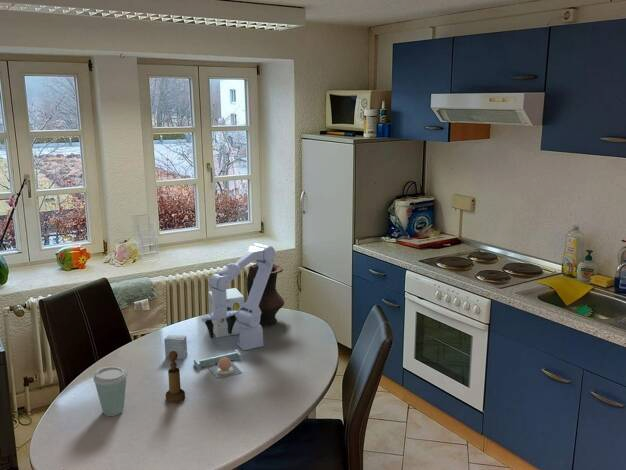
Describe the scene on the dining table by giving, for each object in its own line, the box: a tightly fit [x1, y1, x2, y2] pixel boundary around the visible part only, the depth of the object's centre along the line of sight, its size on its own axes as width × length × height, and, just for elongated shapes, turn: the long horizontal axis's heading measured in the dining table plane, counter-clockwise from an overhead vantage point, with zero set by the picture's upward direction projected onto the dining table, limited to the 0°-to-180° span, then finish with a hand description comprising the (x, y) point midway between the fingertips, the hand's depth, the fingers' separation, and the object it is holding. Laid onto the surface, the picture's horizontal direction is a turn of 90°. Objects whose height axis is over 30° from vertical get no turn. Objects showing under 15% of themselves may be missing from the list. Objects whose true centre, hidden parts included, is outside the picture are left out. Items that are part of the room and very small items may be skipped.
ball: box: [217, 357, 232, 371], centre depth 225 cm, size 5×5×5 cm
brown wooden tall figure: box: [165, 351, 186, 405], centre depth 202 cm, size 7×6×18 cm
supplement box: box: [208, 287, 245, 338], centre depth 262 cm, size 13×13×18 cm
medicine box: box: [163, 334, 188, 360], centre depth 236 cm, size 8×4×9 cm, turn 84°
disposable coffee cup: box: [93, 365, 128, 417], centre depth 194 cm, size 11×11×15 cm
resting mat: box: [208, 361, 243, 380], centre depth 225 cm, size 10×10×1 cm
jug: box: [244, 263, 285, 327], centre depth 269 cm, size 21×18×30 cm
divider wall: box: [193, 349, 242, 371], centre depth 232 cm, size 18×5×2 cm, turn 119°
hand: (220, 335), depth 235 cm, fingers open, 7 cm apart
